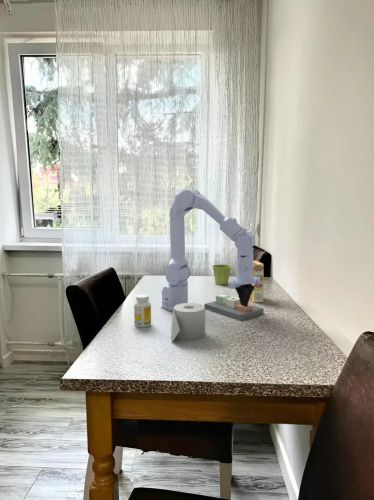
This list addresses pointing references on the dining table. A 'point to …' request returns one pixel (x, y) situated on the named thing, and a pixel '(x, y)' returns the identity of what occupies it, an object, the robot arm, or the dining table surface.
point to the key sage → (221, 299)
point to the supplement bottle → (142, 311)
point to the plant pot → (221, 273)
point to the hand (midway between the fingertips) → (244, 305)
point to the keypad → (233, 311)
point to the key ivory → (232, 302)
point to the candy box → (258, 291)
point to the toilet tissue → (188, 322)
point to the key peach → (244, 308)
